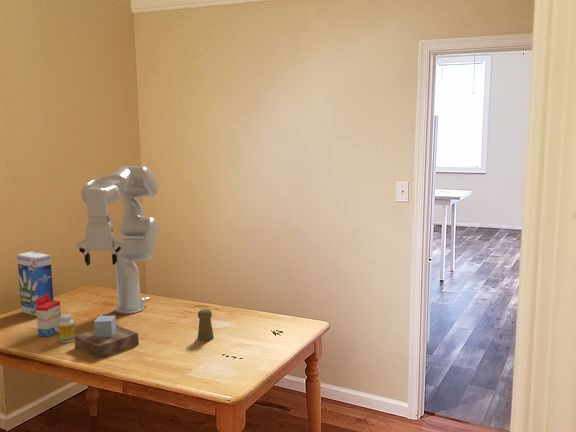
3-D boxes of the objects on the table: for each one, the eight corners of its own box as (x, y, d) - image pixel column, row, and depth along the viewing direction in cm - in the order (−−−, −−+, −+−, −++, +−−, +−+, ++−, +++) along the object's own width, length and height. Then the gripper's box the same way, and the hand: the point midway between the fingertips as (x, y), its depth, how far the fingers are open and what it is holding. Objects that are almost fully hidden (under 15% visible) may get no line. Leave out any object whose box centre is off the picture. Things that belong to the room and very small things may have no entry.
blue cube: (116, 331, 210) (115, 315, 209) (112, 337, 204) (111, 321, 203) (99, 331, 210) (98, 316, 209) (95, 337, 204) (94, 321, 203)
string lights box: (21, 312, 247) (16, 254, 243) (36, 307, 253) (32, 251, 250) (40, 317, 240) (35, 257, 236) (55, 312, 247) (51, 254, 243)
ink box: (49, 337, 218) (46, 299, 215) (38, 336, 218) (34, 299, 216) (62, 329, 226) (59, 293, 224) (51, 328, 227) (48, 292, 224)
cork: (200, 342, 210) (199, 313, 209) (195, 337, 216) (194, 309, 214) (216, 339, 213) (215, 311, 211) (210, 334, 218) (209, 306, 217)
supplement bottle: (59, 339, 215) (57, 314, 214) (74, 336, 217) (72, 312, 216) (60, 344, 210) (58, 319, 209) (76, 341, 213) (74, 316, 211)
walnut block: (113, 336, 219) (112, 324, 218) (138, 346, 209) (138, 333, 208) (75, 349, 206) (74, 336, 206) (100, 360, 196) (99, 346, 196)
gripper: (123, 217, 219) (126, 261, 222) (77, 219, 217) (80, 262, 220) (119, 221, 212) (122, 266, 215) (71, 222, 210) (75, 267, 213)
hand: (101, 264), depth 218 cm, fingers open, 9 cm apart
